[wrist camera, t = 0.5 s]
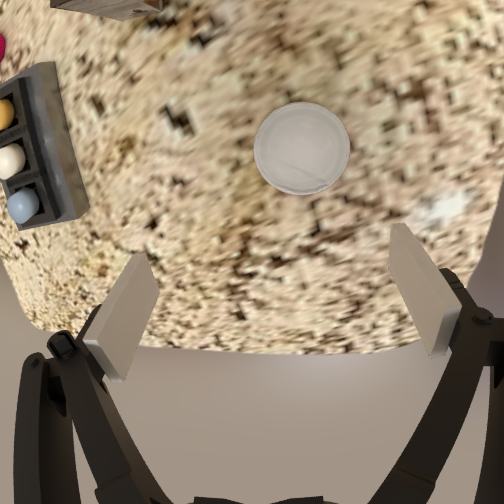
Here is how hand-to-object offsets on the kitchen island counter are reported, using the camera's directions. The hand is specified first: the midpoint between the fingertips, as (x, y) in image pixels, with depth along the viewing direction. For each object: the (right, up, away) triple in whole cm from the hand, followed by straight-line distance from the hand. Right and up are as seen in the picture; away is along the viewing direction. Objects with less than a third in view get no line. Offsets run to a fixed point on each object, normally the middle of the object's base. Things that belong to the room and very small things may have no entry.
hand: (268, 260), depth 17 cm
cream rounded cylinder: (-35, +16, +22) cm, 44 cm away
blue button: (-34, +10, +25) cm, 43 cm away
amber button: (-35, +22, +18) cm, 45 cm away
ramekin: (+5, +15, +23) cm, 28 cm away
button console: (-34, +17, +23) cm, 45 cm away
